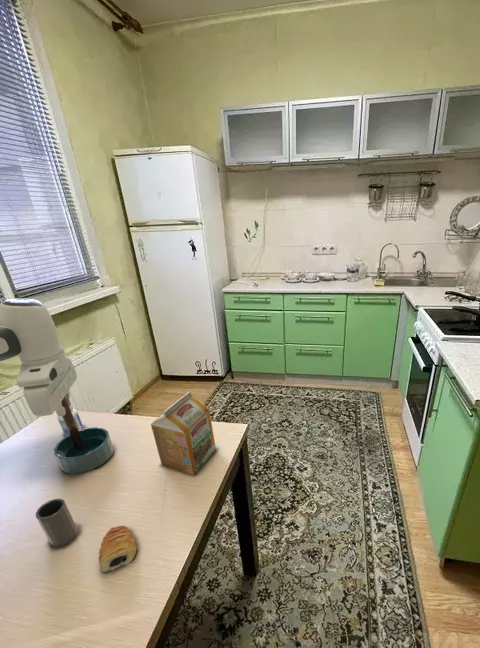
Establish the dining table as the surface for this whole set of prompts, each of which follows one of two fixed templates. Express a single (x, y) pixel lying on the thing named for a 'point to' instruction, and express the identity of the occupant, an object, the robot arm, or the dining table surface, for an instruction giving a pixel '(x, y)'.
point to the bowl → (84, 451)
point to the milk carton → (184, 435)
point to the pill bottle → (76, 418)
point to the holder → (57, 522)
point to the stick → (72, 427)
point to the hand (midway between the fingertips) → (65, 410)
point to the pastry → (117, 548)
